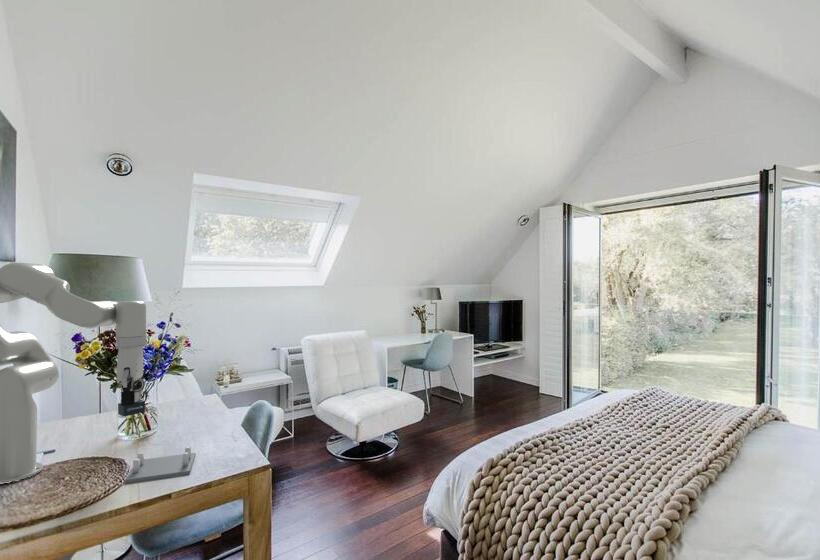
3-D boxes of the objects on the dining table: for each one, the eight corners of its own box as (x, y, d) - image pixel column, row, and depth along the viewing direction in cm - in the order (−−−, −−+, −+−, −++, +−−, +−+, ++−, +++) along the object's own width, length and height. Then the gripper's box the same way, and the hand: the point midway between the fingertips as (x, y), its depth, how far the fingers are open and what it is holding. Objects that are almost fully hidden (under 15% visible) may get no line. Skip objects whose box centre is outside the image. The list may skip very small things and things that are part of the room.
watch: (126, 417, 117) (126, 379, 118) (115, 413, 122) (115, 376, 122) (148, 412, 122) (147, 375, 122) (137, 408, 127) (136, 372, 127)
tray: (124, 483, 114) (125, 467, 114) (137, 463, 127) (137, 448, 127) (189, 474, 120) (190, 458, 120) (195, 455, 133) (195, 441, 133)
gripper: (124, 340, 129) (125, 395, 129) (107, 347, 113) (107, 410, 113) (152, 338, 132) (153, 393, 131) (138, 345, 116) (139, 407, 115)
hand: (132, 401), depth 122 cm, fingers closed on watch, 8 cm apart
